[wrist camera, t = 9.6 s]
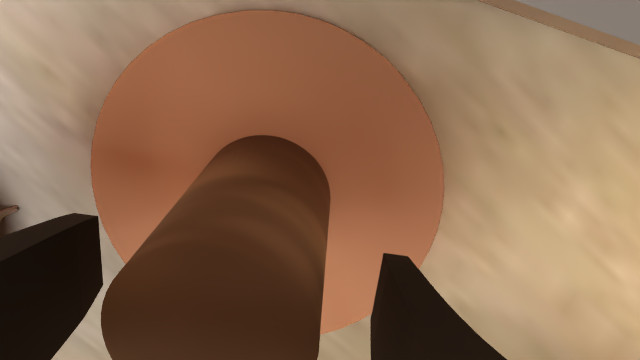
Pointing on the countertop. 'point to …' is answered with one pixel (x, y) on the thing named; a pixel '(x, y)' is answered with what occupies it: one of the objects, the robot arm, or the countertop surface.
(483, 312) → the countertop surface
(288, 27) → the saucer
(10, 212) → the fruit
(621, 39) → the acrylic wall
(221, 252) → the walnut cylinder
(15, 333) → the robot arm
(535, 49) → the countertop surface
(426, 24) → the countertop surface
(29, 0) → the countertop surface
